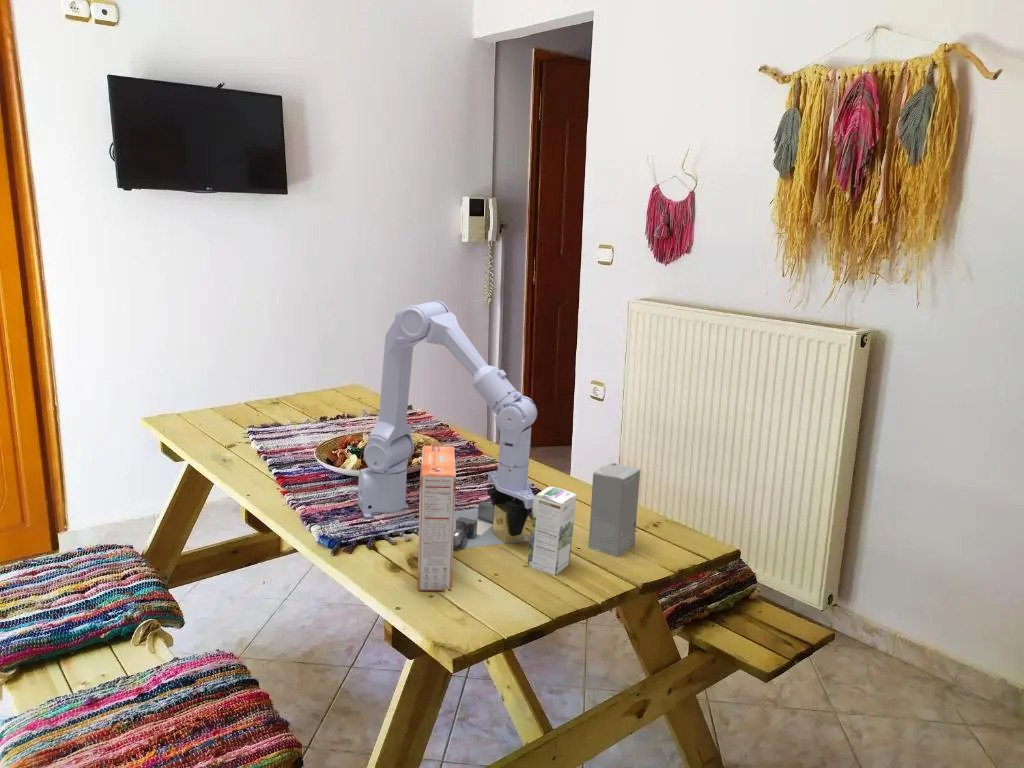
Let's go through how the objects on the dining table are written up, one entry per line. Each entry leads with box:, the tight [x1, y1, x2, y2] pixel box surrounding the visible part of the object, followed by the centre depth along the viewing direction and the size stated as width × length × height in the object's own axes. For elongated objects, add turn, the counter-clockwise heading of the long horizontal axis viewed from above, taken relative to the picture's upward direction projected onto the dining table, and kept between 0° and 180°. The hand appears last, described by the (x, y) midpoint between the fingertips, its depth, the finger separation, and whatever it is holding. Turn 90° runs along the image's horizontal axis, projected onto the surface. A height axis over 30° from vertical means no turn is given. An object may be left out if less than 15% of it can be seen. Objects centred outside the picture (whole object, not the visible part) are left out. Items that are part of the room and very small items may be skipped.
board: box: [453, 508, 530, 550], centre depth 156 cm, size 16×16×1 cm
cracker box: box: [417, 445, 457, 592], centre depth 136 cm, size 14×6×21 cm, turn 5°
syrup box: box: [526, 486, 578, 576], centre depth 141 cm, size 6×6×14 cm
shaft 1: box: [453, 517, 477, 550], centre depth 148 cm, size 7×4×3 cm, turn 161°
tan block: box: [493, 503, 526, 544], centre depth 152 cm, size 5×4×6 cm
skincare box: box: [588, 462, 641, 558], centre depth 150 cm, size 8×7×16 cm
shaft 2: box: [477, 501, 494, 524], centre depth 161 cm, size 7×4×3 cm, turn 146°
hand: (508, 529), depth 152 cm, fingers closed on tan block, 4 cm apart
